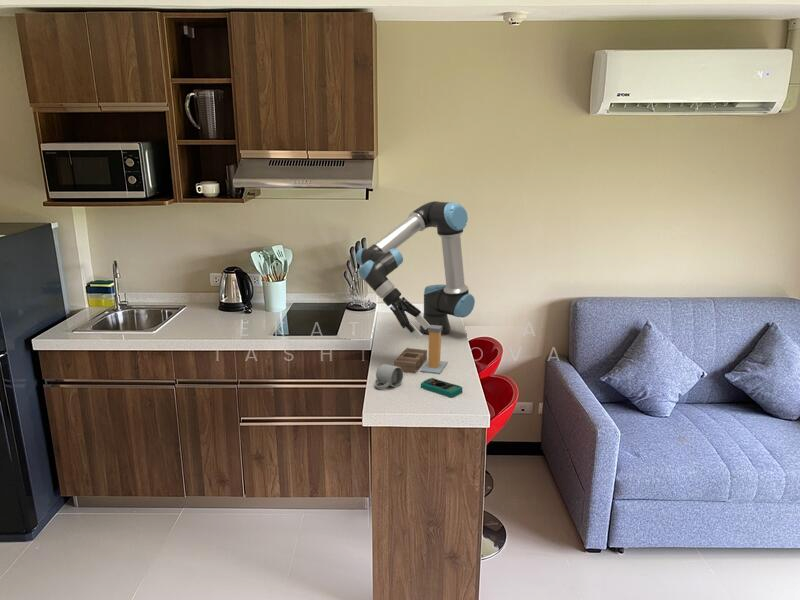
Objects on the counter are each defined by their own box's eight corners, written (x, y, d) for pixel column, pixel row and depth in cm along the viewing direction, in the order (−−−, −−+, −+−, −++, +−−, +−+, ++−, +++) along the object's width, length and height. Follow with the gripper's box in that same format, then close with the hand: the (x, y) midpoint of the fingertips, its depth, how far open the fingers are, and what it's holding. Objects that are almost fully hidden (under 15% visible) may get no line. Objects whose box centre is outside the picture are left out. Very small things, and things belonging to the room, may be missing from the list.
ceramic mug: (386, 378, 232) (386, 360, 230) (403, 383, 227) (403, 364, 225) (369, 387, 224) (368, 368, 222) (386, 392, 219) (386, 372, 217)
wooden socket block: (406, 356, 258) (406, 347, 257) (426, 359, 255) (427, 350, 254) (393, 370, 241) (393, 361, 240) (415, 373, 238) (415, 363, 237)
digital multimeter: (430, 383, 229) (430, 376, 228) (463, 393, 220) (463, 385, 219) (418, 389, 224) (419, 381, 223) (451, 399, 214) (452, 391, 214)
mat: (429, 360, 253) (429, 359, 253) (447, 363, 250) (447, 361, 250) (420, 371, 240) (420, 370, 240) (439, 374, 238) (439, 372, 237)
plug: (429, 363, 248) (430, 324, 244) (441, 364, 247) (442, 325, 243) (426, 367, 244) (427, 327, 240) (438, 368, 242) (439, 329, 238)
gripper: (391, 292, 256) (424, 329, 256) (372, 306, 233) (408, 347, 232) (403, 281, 253) (437, 318, 253) (385, 294, 230) (422, 335, 230)
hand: (423, 332), depth 243 cm, fingers open, 13 cm apart
